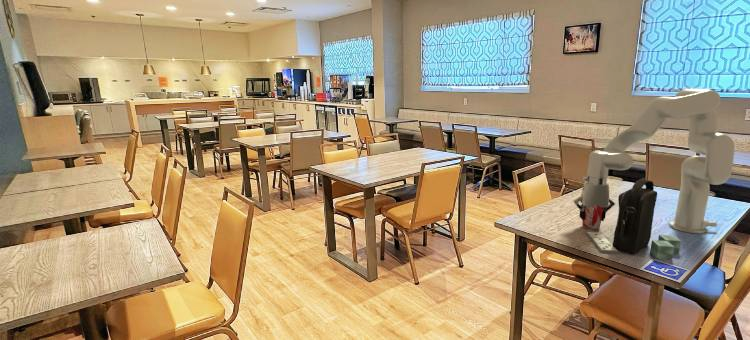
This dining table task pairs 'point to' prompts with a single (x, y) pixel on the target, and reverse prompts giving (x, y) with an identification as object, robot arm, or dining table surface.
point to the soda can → (592, 217)
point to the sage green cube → (662, 249)
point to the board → (601, 242)
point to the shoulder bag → (635, 217)
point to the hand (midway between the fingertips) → (591, 219)
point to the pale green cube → (671, 241)
